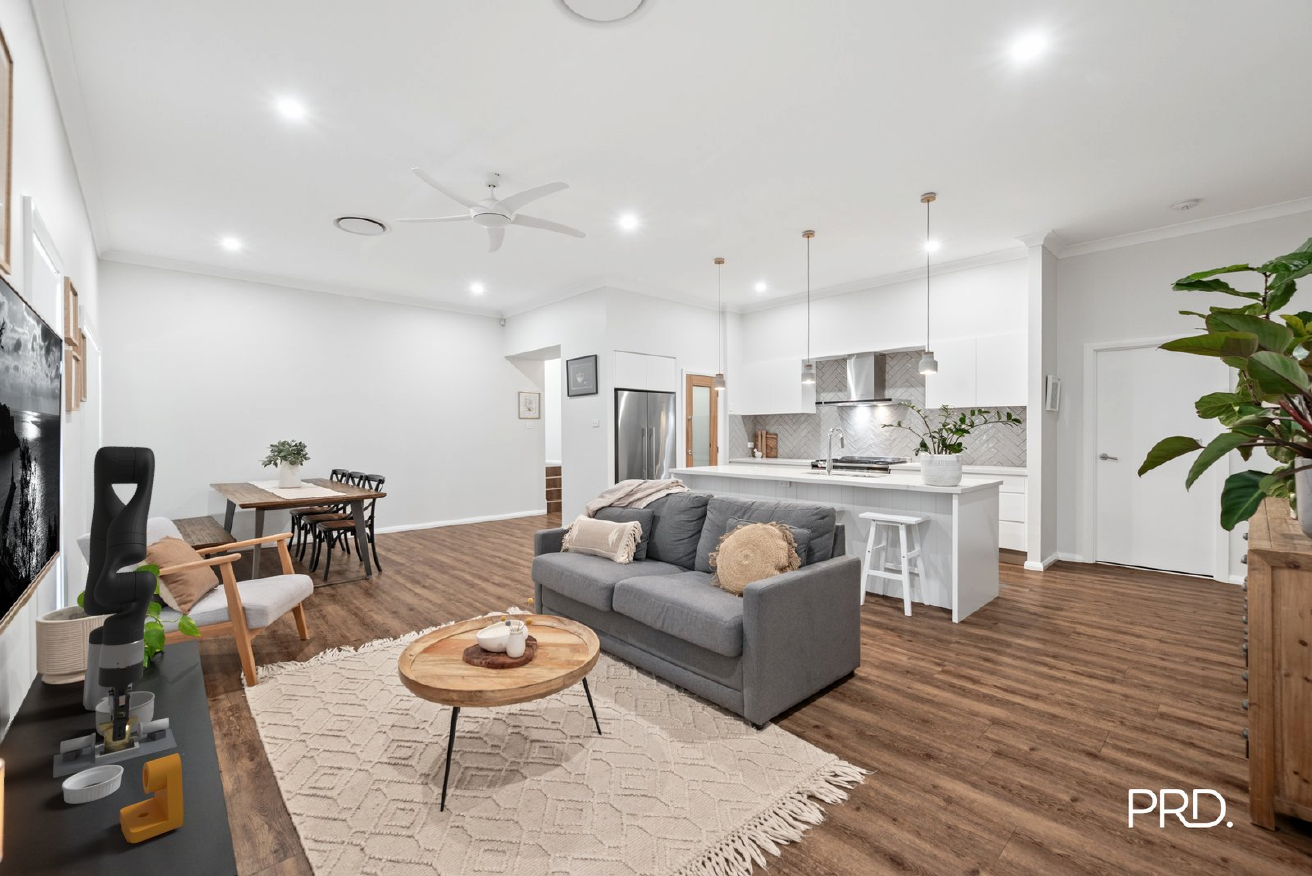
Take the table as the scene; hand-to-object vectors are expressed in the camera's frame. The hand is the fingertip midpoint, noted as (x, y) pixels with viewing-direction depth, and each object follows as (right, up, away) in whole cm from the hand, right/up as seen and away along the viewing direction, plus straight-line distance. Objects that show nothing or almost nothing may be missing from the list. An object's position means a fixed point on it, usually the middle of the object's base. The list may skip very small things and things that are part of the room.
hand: (117, 733), depth 134 cm
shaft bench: (0, -5, 0) cm, 5 cm away
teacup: (-9, -5, +11) cm, 16 cm away
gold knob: (0, -4, 0) cm, 4 cm away
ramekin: (+9, -5, -16) cm, 19 cm away
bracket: (+28, -6, -24) cm, 37 cm away
